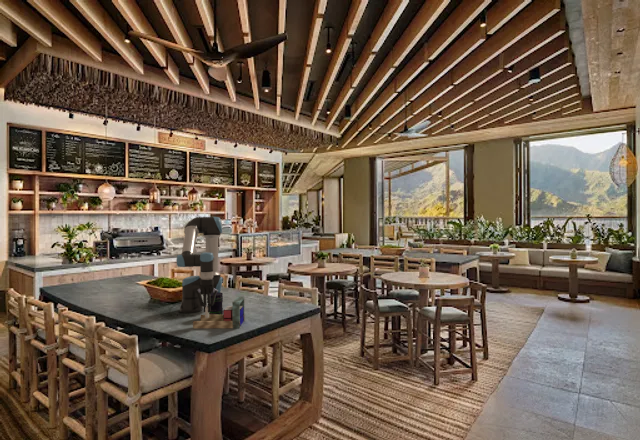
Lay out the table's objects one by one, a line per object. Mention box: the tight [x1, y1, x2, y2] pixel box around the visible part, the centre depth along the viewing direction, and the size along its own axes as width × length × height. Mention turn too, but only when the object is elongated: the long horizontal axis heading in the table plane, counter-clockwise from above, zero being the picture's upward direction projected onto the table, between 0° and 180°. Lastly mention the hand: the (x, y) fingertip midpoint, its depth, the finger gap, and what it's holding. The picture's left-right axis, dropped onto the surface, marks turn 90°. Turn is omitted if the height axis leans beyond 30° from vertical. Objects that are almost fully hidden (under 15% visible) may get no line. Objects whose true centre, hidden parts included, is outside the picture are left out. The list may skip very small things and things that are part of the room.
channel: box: [192, 296, 245, 329], centre depth 229 cm, size 27×15×15 cm, turn 90°
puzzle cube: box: [223, 305, 244, 327], centre depth 230 cm, size 10×10×10 cm
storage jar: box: [207, 292, 224, 315], centre depth 246 cm, size 10×10×15 cm
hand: (207, 317), depth 229 cm, fingers closed
